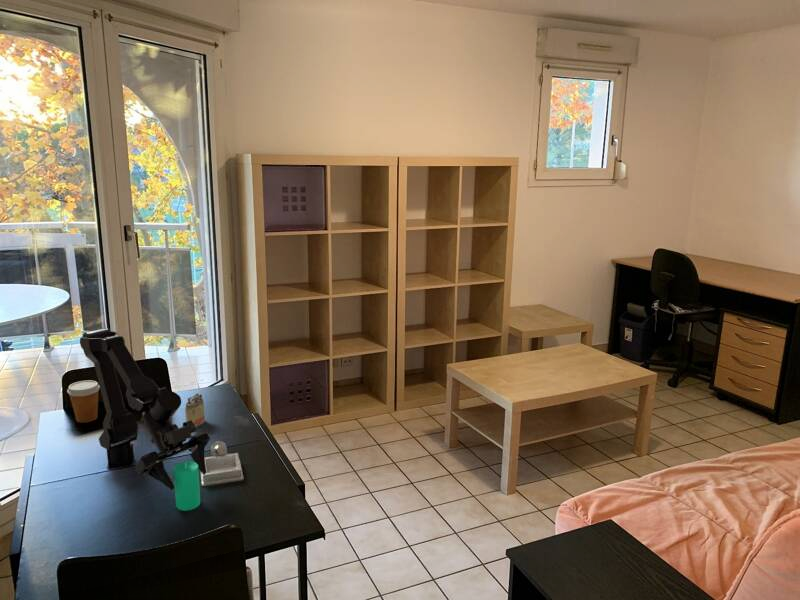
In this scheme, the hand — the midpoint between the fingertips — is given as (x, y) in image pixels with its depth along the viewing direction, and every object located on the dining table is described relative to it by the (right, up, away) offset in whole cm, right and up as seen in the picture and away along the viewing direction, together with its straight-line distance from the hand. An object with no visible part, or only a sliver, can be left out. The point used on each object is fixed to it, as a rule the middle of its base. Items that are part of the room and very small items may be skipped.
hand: (189, 481), depth 153 cm
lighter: (-14, +4, +47) cm, 50 cm away
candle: (-1, -7, +2) cm, 7 cm away
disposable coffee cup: (-51, +6, +50) cm, 72 cm away
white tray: (+2, -2, +20) cm, 20 cm away
